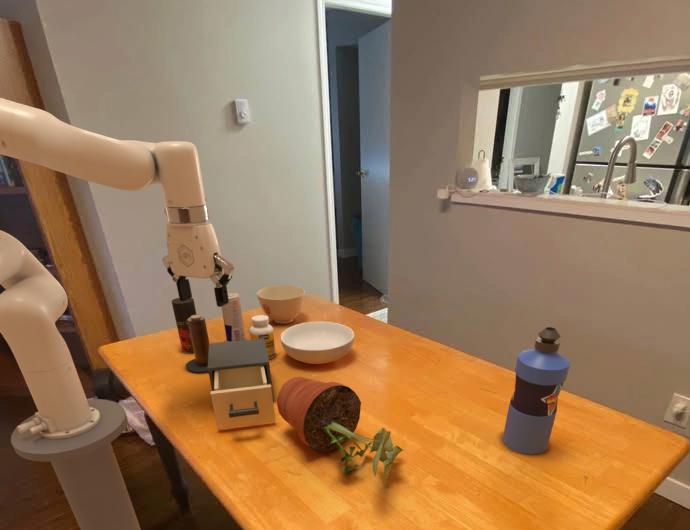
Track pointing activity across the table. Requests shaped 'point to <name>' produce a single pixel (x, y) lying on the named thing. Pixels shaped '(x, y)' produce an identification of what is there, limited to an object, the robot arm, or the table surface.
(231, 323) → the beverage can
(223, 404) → the drawer
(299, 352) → the serving bowl
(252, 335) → the pill bottle
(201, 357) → the pepper mill
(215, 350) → the cabinet
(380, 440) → the potted plant
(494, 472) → the table surface
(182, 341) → the deodorant
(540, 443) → the water bottle
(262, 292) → the bowl
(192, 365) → the mat
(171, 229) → the robot arm
